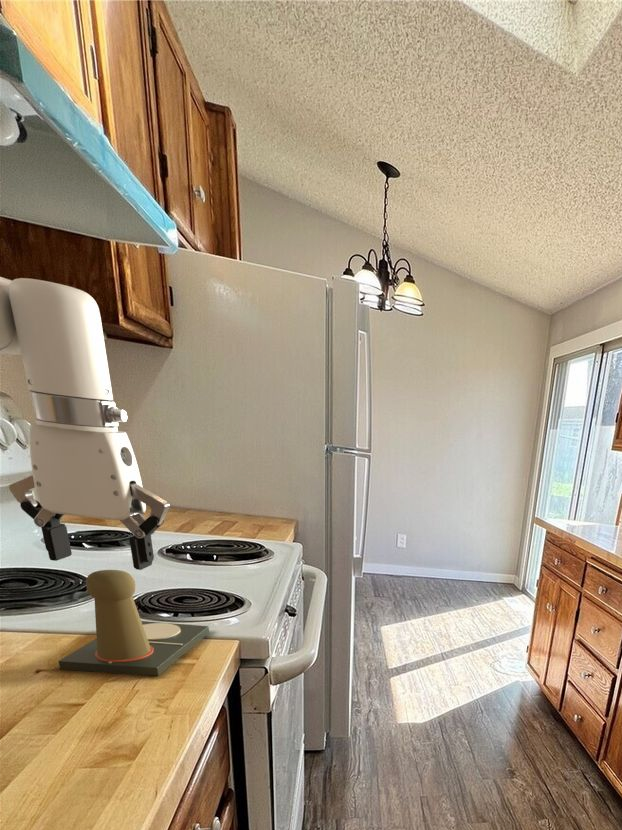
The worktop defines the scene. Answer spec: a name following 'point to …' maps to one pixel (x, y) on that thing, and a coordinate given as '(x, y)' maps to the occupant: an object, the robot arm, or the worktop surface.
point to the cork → (116, 616)
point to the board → (165, 650)
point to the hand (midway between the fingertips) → (102, 562)
